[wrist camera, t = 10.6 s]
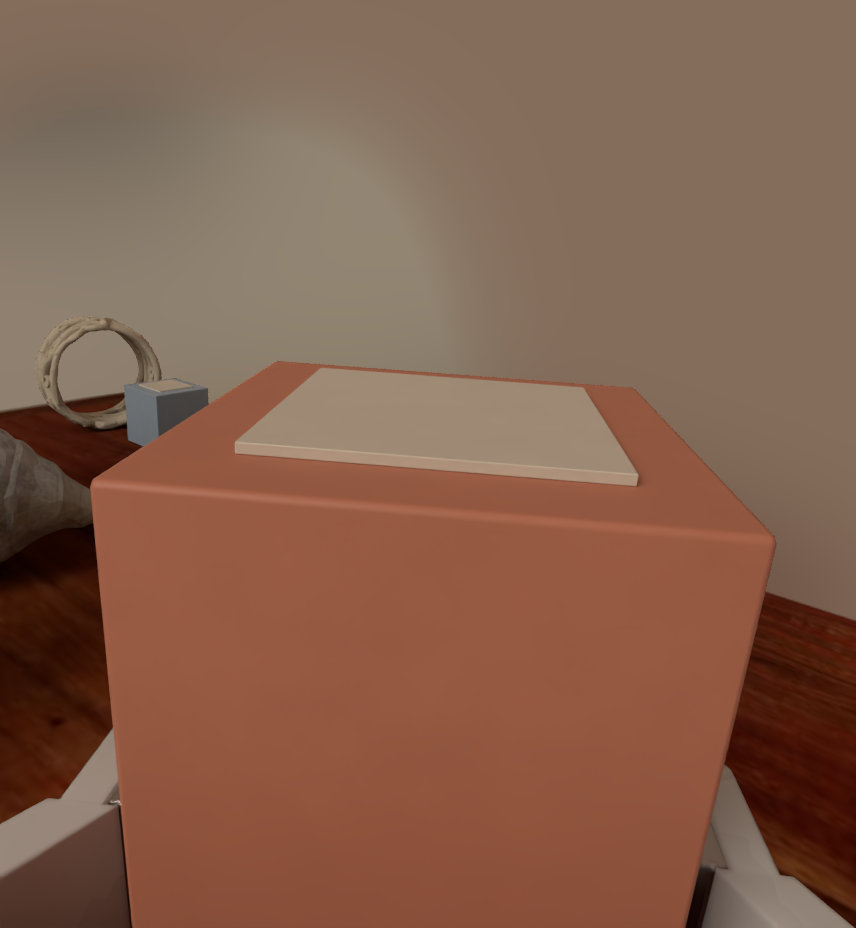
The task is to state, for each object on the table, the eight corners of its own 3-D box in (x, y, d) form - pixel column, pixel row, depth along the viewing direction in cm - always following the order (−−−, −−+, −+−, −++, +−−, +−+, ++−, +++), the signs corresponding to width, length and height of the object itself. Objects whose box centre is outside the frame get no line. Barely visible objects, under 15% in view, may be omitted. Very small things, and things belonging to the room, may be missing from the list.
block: (210, 442, 51) (208, 386, 50) (159, 453, 48) (155, 394, 47) (178, 430, 53) (175, 376, 52) (127, 440, 50) (123, 383, 49)
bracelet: (37, 427, 52) (24, 316, 49) (145, 413, 57) (138, 312, 55) (56, 441, 49) (43, 324, 47) (167, 424, 55) (161, 319, 52)
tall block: (530, 1055, 13) (637, 378, 9) (556, 1481, 8) (786, 525, 4) (279, 1024, 13) (273, 352, 9) (176, 1424, 8) (83, 465, 5)
